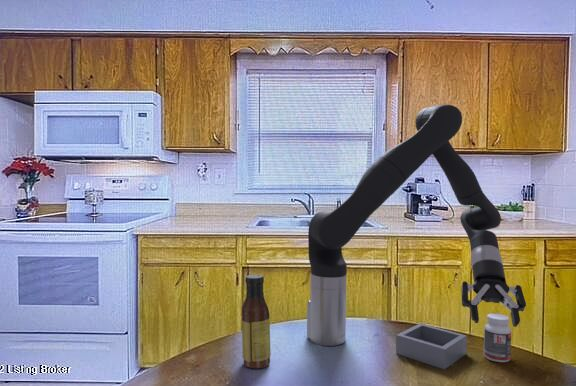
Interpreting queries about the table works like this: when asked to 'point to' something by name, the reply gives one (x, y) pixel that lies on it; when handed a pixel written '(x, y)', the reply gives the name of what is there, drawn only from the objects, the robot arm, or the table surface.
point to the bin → (431, 345)
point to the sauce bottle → (255, 325)
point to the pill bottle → (497, 338)
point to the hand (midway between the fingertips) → (496, 323)
